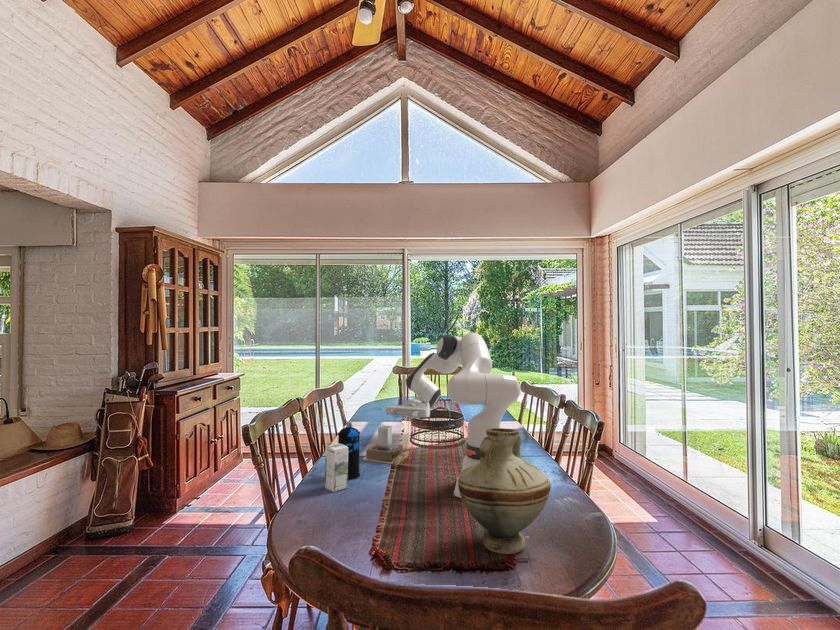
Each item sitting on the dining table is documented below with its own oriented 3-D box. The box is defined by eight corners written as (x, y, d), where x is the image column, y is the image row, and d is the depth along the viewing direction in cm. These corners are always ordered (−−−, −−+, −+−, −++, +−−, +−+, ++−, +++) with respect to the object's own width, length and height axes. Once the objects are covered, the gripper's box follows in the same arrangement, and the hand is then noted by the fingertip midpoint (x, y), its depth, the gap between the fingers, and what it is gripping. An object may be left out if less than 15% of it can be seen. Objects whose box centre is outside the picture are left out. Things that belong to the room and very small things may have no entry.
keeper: (393, 464, 181) (393, 453, 181) (362, 460, 186) (362, 450, 186) (406, 454, 194) (406, 444, 194) (377, 450, 199) (377, 441, 199)
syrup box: (338, 483, 159) (338, 442, 159) (348, 488, 155) (348, 446, 155) (324, 488, 155) (324, 445, 155) (334, 493, 151) (334, 449, 151)
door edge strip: (395, 466, 178) (395, 461, 178) (393, 466, 179) (393, 460, 179) (410, 454, 193) (410, 450, 193) (408, 454, 193) (408, 449, 193)
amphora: (538, 527, 129) (531, 420, 132) (569, 565, 105) (559, 433, 108) (456, 533, 128) (450, 424, 131) (468, 572, 105) (460, 439, 107)
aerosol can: (332, 476, 167) (333, 421, 167) (350, 470, 173) (350, 418, 173) (346, 481, 161) (347, 425, 161) (364, 475, 168) (364, 421, 168)
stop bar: (387, 457, 187) (387, 428, 187) (377, 456, 188) (378, 427, 188) (391, 454, 191) (392, 426, 191) (382, 453, 193) (382, 425, 193)
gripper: (392, 400, 218) (380, 405, 205) (432, 403, 211) (422, 408, 198) (392, 414, 217) (379, 419, 205) (432, 416, 210) (422, 422, 197)
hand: (401, 414), depth 201 cm, fingers open, 8 cm apart
